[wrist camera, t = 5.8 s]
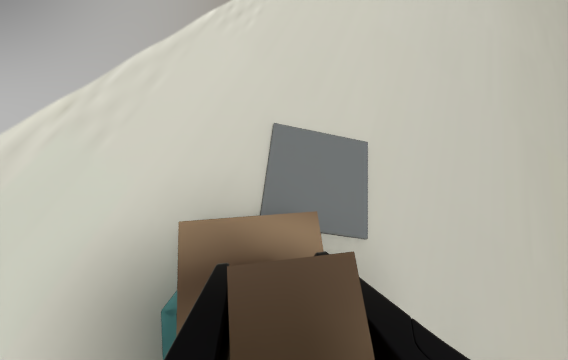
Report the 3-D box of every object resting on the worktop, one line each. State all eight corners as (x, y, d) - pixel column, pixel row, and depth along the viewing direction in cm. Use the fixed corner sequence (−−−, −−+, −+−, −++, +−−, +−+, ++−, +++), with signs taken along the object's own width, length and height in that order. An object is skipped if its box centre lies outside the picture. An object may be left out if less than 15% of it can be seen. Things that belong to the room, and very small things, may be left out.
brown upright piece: (333, 357, 16) (565, 563, 5) (179, 389, 14) (-33, 865, 3) (312, 214, 19) (426, 136, 8) (182, 224, 17) (82, 139, 6)
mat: (365, 239, 24) (367, 238, 24) (259, 223, 23) (259, 223, 22) (365, 143, 28) (367, 142, 27) (273, 125, 26) (274, 122, 26)
